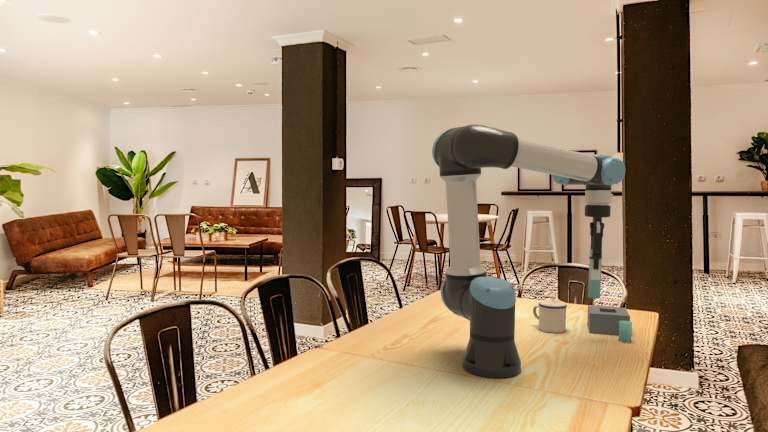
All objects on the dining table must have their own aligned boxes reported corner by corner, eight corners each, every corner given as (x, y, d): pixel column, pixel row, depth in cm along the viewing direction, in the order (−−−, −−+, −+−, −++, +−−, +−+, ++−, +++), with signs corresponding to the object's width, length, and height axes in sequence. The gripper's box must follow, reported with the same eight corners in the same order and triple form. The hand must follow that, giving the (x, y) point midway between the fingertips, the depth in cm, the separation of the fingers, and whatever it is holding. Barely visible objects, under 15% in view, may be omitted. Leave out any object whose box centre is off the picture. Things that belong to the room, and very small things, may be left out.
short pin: (632, 343, 163) (632, 323, 163) (619, 341, 164) (620, 322, 164) (630, 339, 166) (631, 320, 166) (618, 338, 168) (618, 320, 167)
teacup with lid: (571, 330, 177) (572, 295, 177) (556, 335, 171) (557, 299, 171) (540, 322, 186) (541, 290, 186) (525, 327, 181) (525, 293, 180)
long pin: (600, 299, 165) (602, 251, 164) (588, 298, 166) (590, 250, 165) (599, 296, 168) (601, 249, 167) (587, 295, 169) (589, 249, 168)
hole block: (629, 336, 170) (630, 316, 170) (589, 332, 174) (590, 313, 174) (624, 326, 182) (625, 307, 181) (587, 323, 185) (587, 305, 185)
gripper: (613, 205, 156) (610, 283, 158) (608, 204, 172) (605, 275, 173) (586, 204, 159) (583, 282, 160) (583, 203, 174) (580, 273, 176)
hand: (594, 278), depth 167 cm, fingers closed on long pin, 3 cm apart
